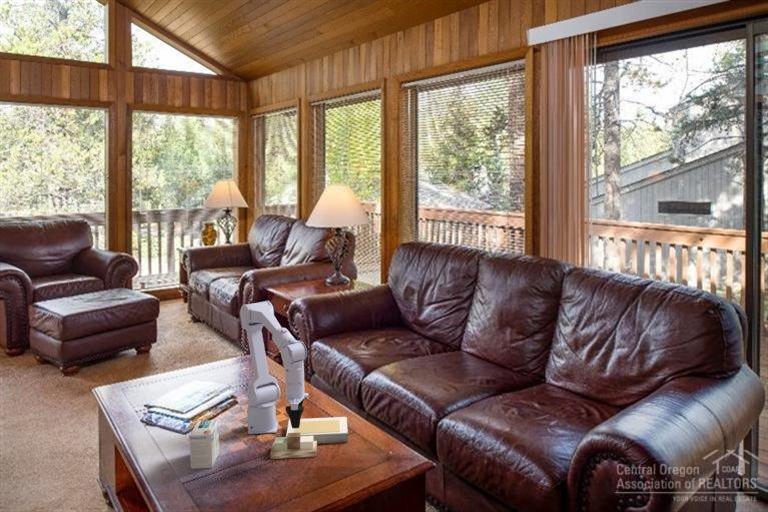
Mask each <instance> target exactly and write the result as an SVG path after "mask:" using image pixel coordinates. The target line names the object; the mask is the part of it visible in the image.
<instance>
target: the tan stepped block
mask: <svg viewBox="0 0 768 512" xmlns="http://www.w3.org/2000/svg"><path fill="white" fill-rule="evenodd" d="M300 438H301V433H288V435H287V450H283V451H274V442H273V443H272V446H271V450H270V460H272V459H273V460H275V459H276V460H277V459H292V458H297V459H298V458H312V457H313V458H314V457H317V451H318V449H317V448H318V444H317V441H314V444H313V449H303V450H300Z"/></svg>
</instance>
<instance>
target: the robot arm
mask: <svg viewBox="0 0 768 512" xmlns="http://www.w3.org/2000/svg"><path fill="white" fill-rule="evenodd" d="M239 319H240V323H241V327H242V329H243V330H245V331H246V336H247V341H248V348H249V353H250V354H249V355H250V359H251V365H252V371H253V378H252V379H251V380H250V382H249V383H248V384H247V399H248V402H249V404H248V406H247V417H246V418H247V434H249V435H255V434H276V433H277V431H278V427H279V421H277V416H276V415H277V413H276V404H278V400H280V398H281V389H280V386H279V383H278V380H277V378H276V377H275V376H272V375H270V373H269V366H268V361H267V354H266V350H265V349H266V348H265V344H264V338H263V332H262V329H264V328H266V329H267V330H268V331H269V332H270V334H271V340H272V342H273V343H274V344H275V345H276V347H277V349H279V352H280V356H281V360H282V363H283V365H282V366H283V368H284V369H285V370H284V373H285V399H286V400H287V402H288V403H289V404H290V405H286V406H285V412H286V414H287V416H288V417H289V419H290V422H291V426H292V428H299V426H300V419H302V415H303V412H304V410H305V406H303V403H304V401H305V399H306V398H309V393H308V392H305V369H304V368H305V367H304V365H305V363H304V361H305V360H306V359H307V357H308V350H307V347H306V345H305V343H304V341H300V340H298V339H296V338H295V337H294V336H293V335H292V334H291V332H290V331H289V330H288V329H287V328H286V327H282V326H281V324H280V323H279V321H278V320H277V318H276V316H275V311H274V306H273V304H272V303H271V301H269V300H265V301H260V302H259V301H258V302H254V303H248V304H242V305H241V307H240V310H239ZM263 327H264V328H263Z"/></svg>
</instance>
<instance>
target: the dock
mask: <svg viewBox="0 0 768 512" xmlns="http://www.w3.org/2000/svg"><path fill="white" fill-rule="evenodd" d="M287 423H288V424H287V428H286V429H287V431H286V435H285V437H287V435H288V433H301V436H313V440H314V441H317V445H318V444H334V443H335V444H336V443H348V442H349V434H348V433H349V431H348V417H347V416H335V417H315V418H313V417H312V418H301V419H300V426H299V428H292V426H291V422H290V418H289V419H288V422H287Z"/></svg>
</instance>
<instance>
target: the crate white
mask: <svg viewBox="0 0 768 512" xmlns="http://www.w3.org/2000/svg"><path fill="white" fill-rule="evenodd" d="M313 444H314V440H313V436H301V438H300V450H303V449H313Z"/></svg>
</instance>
